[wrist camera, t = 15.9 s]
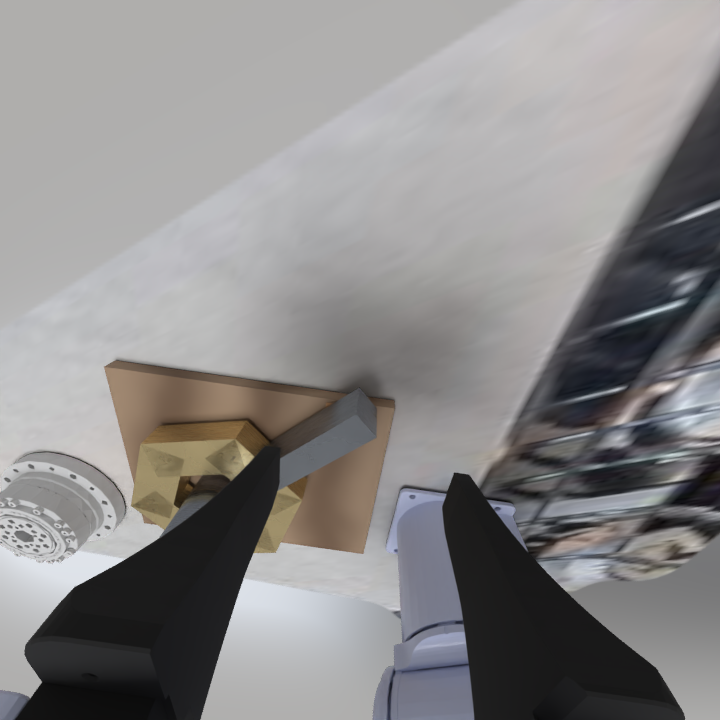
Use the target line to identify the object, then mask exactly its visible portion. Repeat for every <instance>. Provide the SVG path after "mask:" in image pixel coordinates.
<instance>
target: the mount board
mask: <svg viewBox="0 0 720 720" xmlns="http://www.w3.org/2000/svg"><path fill="white" fill-rule="evenodd" d="M104 368H105V372H106V376H107V380H108V384H109V388H110V392H111V396H112V399H113V403H114V407H115V411H116V415H117V419H118V423H119V427H120V431H121V435H122V438H123V442H124V446H125V450H126V454H127V458H128V462H129V466H130V470H131V473H132V477H133V481H134V484H135V477H136V470H137V464H138V457H139V450H140V444H141V443H142V442H143V441H144V440H145V439H146V438H147V437H148V436H149V435H150V434H151V433H152V432H153V431H154V430H155V429H156V428H157V427H158V426H162V425H179V424H195V423H212V422H229V421H246V420H247V421H248V422H249V423H250V424H251V425H252V426H253V427H254V428H255V429H256V430H257V431H258V432H260V433H261V434H262V435H263V436H264V437H265V438H266V439H267V440H268V441H269V442H271V441H272V440H274V439H276V438H277V437H279V436H281V435H282V434H284V433H286V432H287V431H289V430H290V429H292V428H294V427H295V426H297V425H299V424H300V423H302V422H304V421H305V420H307V419H309V418H310V417H312V416H313V415H315V414H317V413H318V412H320V411H322V410H323V409H325V408H327V407H328V406H330V405H331V404H333V403H335V402H336V401H338V400H340V399H341V398H343V397H345V396H346V395H348V394H345V393H338V392H331V391H324V390H317V389H310V388H303V387H296V386H289V385H282V384H275V383H269V382H262V381H255V380H248V379H241V378H234V377H227V376H220V375H213V374H206V373H199V372H192V371H185V370H178V369H171V368H164V367H157V366H150V365H143V364H136V363H129V362H122V361H114V362H112V363H110V364H108V365H107V366H105V367H104ZM368 398H369V400H370V401H371V402H372V403H373V404H374V406H375V407H376V408H377V438H375V439H373V440H371V441H370V442H368V443H366V444H364V445H362V446H360V447H358V448H357V449H355V450H353V451H351V452H349V453H347V454H345V455H344V456H342V457H340V458H338V459H336V460H334V461H332V462H331V463H329V464H327V465H325V466H323V467H321V468H319V469H318V470H316V471H314V472H312V473H310V474H308V475H306V476H305V477H306V478H307V479H308V481H307V484H306V488H305V492H304V496H303V499H302V502H301V504H300V506H299V508H298V510H297V512H296V514H295V515H294V517H293V519H292V521H291V523H290V525H289V527H288V529H287V531H286V533H285V535H284V537H283V539H282V541H281V542H283V543H290V544H297V545H304V546H311V547H318V548H325V549H332V550H339V551H346V552H353V553H361V554H363V553H364V548H365V544H366V539H367V534H368V530H369V525H370V521H371V516H372V511H373V507H374V502H375V498H376V493H377V488H378V484H379V479H380V475H381V470H382V465H383V461H384V456H385V452H386V447H387V442H388V438H389V433H390V429H391V424H392V419H393V415H394V410H395V404H394V400H387V399H380V398H373V397H368ZM201 476H202V475H196V476H190V479H189V483H188V484H189V485H191V486H192V487H193V488H194V486H195V485H196V483H197V482H198V480H199V479H200V477H201ZM142 516H143V520H144V523H148V524H156V523H154V522H153V521H151V520H150V519H149V518H147V517H146V516H144V515H143V514H142ZM156 525H157V524H156Z"/></svg>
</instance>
